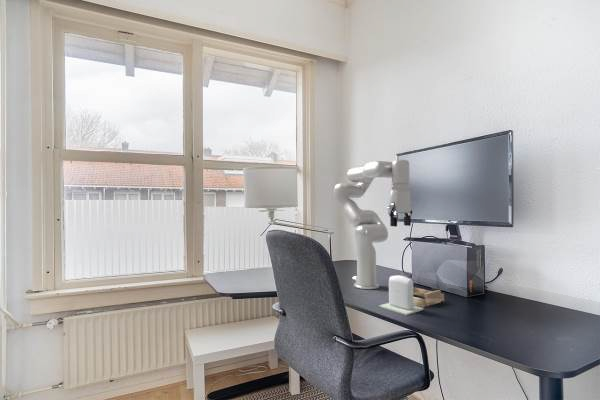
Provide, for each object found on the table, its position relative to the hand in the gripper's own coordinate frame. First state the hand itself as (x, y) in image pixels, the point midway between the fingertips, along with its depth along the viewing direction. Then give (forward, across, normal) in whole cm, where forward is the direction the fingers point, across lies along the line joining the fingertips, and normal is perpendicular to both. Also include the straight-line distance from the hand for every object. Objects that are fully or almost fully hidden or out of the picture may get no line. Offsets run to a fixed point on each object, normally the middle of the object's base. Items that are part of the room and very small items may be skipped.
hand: (400, 225), depth 149 cm
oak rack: (+32, -4, +6) cm, 33 cm away
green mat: (+32, +12, +9) cm, 36 cm away
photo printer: (+32, +12, +9) cm, 35 cm away
